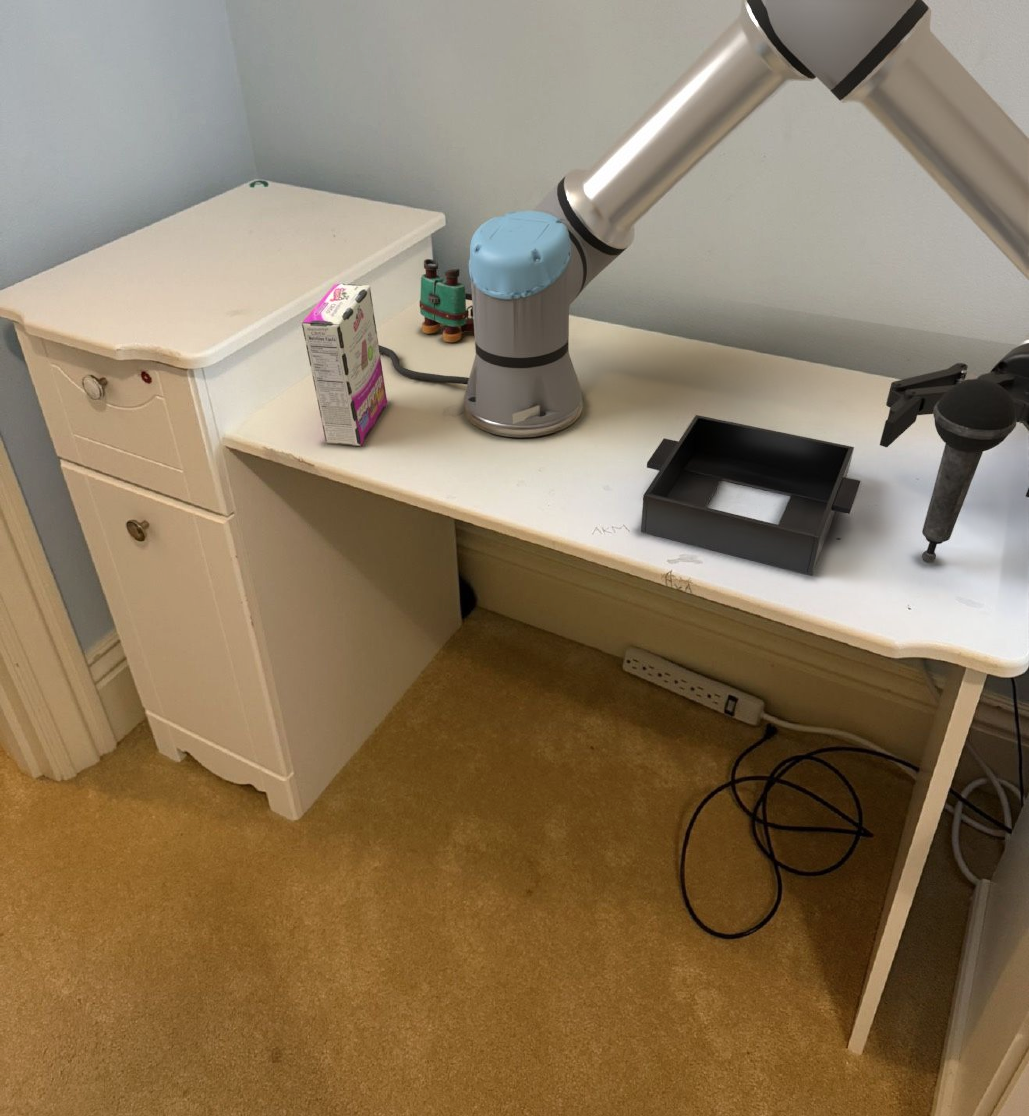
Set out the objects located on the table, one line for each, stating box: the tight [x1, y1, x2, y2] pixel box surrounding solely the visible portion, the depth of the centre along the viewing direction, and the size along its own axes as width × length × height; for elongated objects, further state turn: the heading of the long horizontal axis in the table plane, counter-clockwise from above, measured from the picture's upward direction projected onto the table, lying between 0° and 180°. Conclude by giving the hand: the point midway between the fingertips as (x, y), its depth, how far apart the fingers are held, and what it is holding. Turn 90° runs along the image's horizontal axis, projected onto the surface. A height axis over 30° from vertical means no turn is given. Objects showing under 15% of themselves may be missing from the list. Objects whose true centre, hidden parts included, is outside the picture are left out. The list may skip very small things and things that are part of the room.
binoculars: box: [419, 258, 474, 343], centre depth 136 cm, size 9×11×10 cm
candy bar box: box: [300, 283, 388, 447], centre depth 112 cm, size 11×5×16 cm, turn 168°
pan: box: [640, 414, 862, 576], centre depth 99 cm, size 22×18×5 cm
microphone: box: [921, 379, 1017, 564], centre depth 86 cm, size 7×7×20 cm
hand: (956, 458), depth 84 cm, fingers open, 13 cm apart
